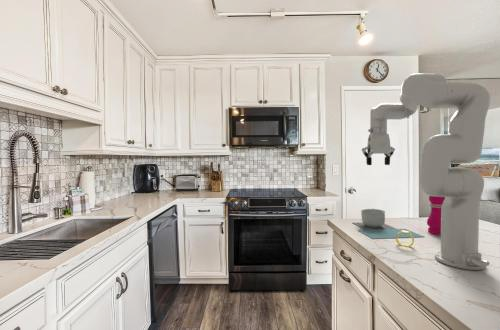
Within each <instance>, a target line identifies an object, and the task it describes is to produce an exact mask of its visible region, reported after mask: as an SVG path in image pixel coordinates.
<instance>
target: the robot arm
mask: <svg viewBox="0 0 500 330" xmlns="http://www.w3.org/2000/svg"><path fill="white" fill-rule="evenodd" d="M400 89H401V93H400V96H399V101H400V103H399V102H397V103H394V102H393V103H388V102H387V103H386V102H384V103H383V102H382V103H380V104H378V105H377V106H375V107H372V108H371V109H370V113H369V114H370V121H369V122H370V124H369V125H370V128H369V129H368V130H367V132H369V135H368V138H367V145H366V146H364V147H362V148H361V151H362V154H363V155H364V157H365V158H366V161H365V162H366V165H367V166H372V163H373V162H372V161H373V159H372V158H373V157H372V156H373V154H381V155H382V154H383V155H384V156H385V157H384V165H385V166H390V163H391V157H392V156H393V155H394V152H395V150H396V149H395V147H393V146H391V139H390V135H389V133H388V120H404V119H406V118H408V117H411V116H413V114H416V112H417V111H418V108H419V106H421V107H424V108H427V109H441V110H442V109H456V111H455V112H454V114H453V116H452V117H451V118H450V122H449V127H448V133H446V134H445V133H444V134H443V133H442V134H441V133H440V134H435V135H432V136H431V137H429V138H428V139H427V140H426V142H425V143H424V144H423V148H422V155H421V166H420V176H419V177H420V179H419V180H420V181H419V183H420V188H421V190H422V191H423V193H425V194H426V196H427V195H428V197H429V196H434V197H445V200H444V202H443V204H442V209H441V235H440V251H437V252H435V254H434V258H435V260H437V261H438V262H440V263H441V264H445V265H447V266H450V267H453V268H457V269H461V270H462V269H463V270H469V271H480V270H485V269H487V267H488V266H489V265H490V261H487V260H485V259H482V253H480V252H479V234H480V232H479V230H480V229H479V228H480V227H479V225H480V205H481V199H482V195H483V191H484V187H485V181H484V178H483V177H484V176H482V174H481V173H480V172H479V171H477V170H476V169H473V168H470V167H464V166H463V167H461V166H460V167H457V166H456V167H450V165H452V164H455V165H458V164H459V165H460V164H461V165H462V164H471V163H474V162H476V161H478V160H479V159H480V157H481V155H482V151H483V142H484V136H485V135H484V134H485V127H486V125H485V124H486V118H487V114H488V112H489V108H490V105H491V96H490V92H489V91H488V90H487V88H486V87H484V86H483V85H481V84H478V83H474V82H473V83H472V82H465V81H464V82H459V81H458V82H457V81H456V82H455V81H454V82H453V81H452V82H451V81H449V82H448V81H447V78H446V77H445V76H443V75H442V74H438V73H421V72H420V73H418V72H417V73H412V74H410V75H408V76H407V77H406V78H405V79H403V81H402V84H401V88H400Z"/></svg>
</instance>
